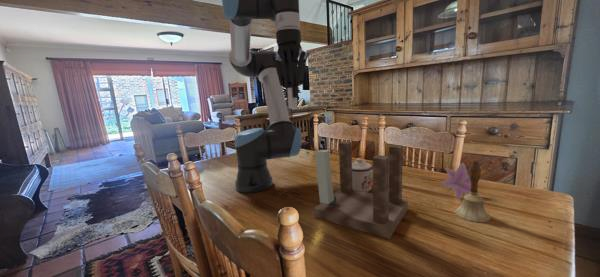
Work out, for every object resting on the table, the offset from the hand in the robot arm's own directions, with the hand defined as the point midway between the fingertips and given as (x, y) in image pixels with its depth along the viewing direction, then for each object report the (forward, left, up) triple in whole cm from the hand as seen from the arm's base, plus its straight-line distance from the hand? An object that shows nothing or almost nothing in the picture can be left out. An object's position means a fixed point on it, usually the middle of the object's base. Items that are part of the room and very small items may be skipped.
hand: (293, 108), depth 81 cm
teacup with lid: (+14, +21, -32) cm, 41 cm away
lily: (+45, +30, -32) cm, 62 cm away
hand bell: (+49, +16, -32) cm, 61 cm away
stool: (+22, +2, -32) cm, 39 cm away
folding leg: (+14, -5, -27) cm, 31 cm away
